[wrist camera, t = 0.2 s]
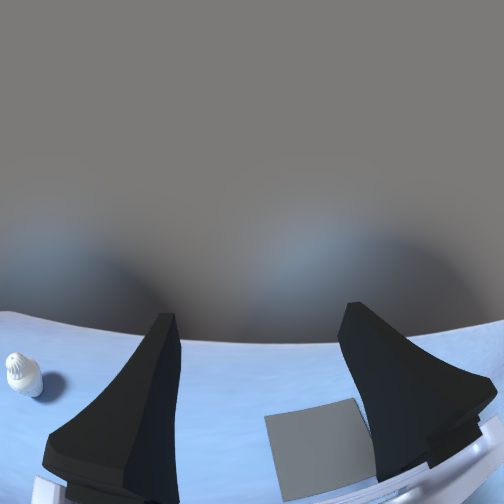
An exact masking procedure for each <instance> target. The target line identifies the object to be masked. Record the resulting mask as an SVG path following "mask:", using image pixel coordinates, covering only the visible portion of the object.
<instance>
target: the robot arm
mask: <svg viewBox="0 0 504 504" xmlns="http://www.w3.org/2000/svg"><path fill="white" fill-rule="evenodd" d="M338 340H339V344H340V347H341V351H342V354H343V357H344V359H345V361H346V364H347V366H348V368H349V371H350V373H351V375H352V377H353V380H354V382H355V384H356V387H357V389H358V391H359V393H360V396H361V399H362V401H363V404H364V408H365V412H366V415H367V419H368V423H369V427H370V432H371V436H372V442H373V448H374V455H375V464H376V477H377V480H378V484H375V485H373V486H370V487H367V488H364V489H362V490H359V491H356V492H352V493H349V494H346V495H343V496H339V497H336V498H332V499H328V500H324V501H320V502H316V503H311V504H365V503H367V502H370V501H373V500H375V499H378V498H380V497H383V496H385V495H388V494H390V493H392V492H395V491H397V490H399V489H400V491H399V493H398V495H397V496H396V497H393V498H391V499H389V500H386V501H384V502H381V503H379V504H461V503H462V502H463V501H465V500H466V499H467V498H468V497H469V496H470V495H471V494H472V493H473V492H474V491H475V490H476V489H477V488H478V487H479V486H480V485H481V484H482V483H483V482H484V481H485V480H486V479H487V478H488V477H489V476H490V475H491V474H492V473H493V472H494V471H495V470H496V469H497V468H498V467H499V466H500V465H501V464H502V463H503V462H504V425H503V423H502V421H501V419H500V418H499V416H498V414H495V415H494V416H493V417H492V418H490V419H489V420H488V421H486V422H485V423H484V424H483V425H481V426H480V427H479V426H478V424H477V423H478V422H479V421H480V418H479V416H478V414H479V413H480V412H481V411H482V410H483V409H484V408H485V407H486V406H487V405H488V404H489V403H490V402H491V401H492V400H493V399H494V398H495V397H496V395H497V392H498V391H497V389H496V388H495V386H494V385H493V383H492V381H491V380H490V379H489V378H487V377H483V376H480V375H476V374H473V373H470V372H467V371H465V370H462V369H459V368H457V367H455V366H452V365H450V364H448V363H446V362H444V361H442V360H440V359H438V358H436V357H434V356H433V355H431V354H429V353H428V352H426V351H424V350H423V349H421V348H420V347H418V346H417V345H415V344H414V343H412V342H411V341H410V340H408V339H407V338H405V337H404V336H403V335H401V334H400V333H399V332H397V331H396V330H395V329H394V328H392V327H391V326H390V325H389V324H387V323H386V322H385V321H384V320H382V319H381V318H380V317H379V316H378V315H376V314H375V313H374V312H373V311H371V310H370V309H369V308H368V307H366V306H365V305H364V304H362V303H361V302H354V303H348V304H347V308H346V311H345V314H344V317H343V321H342V324H341V327H340V330H339V333H338ZM180 372H181V343H180V339H179V334H178V329H177V325H176V320H175V315H174V313H159V314H158V315H157V317H156V319H155V320H154V322H153V324H152V325H151V327H150V329H149V330H148V332H147V334H146V335H145V337H144V338H143V340H142V342H141V343H140V345H139V346H138V348H137V349H136V351H135V352H134V353H133V355H132V356H131V358H130V359H129V360H128V362H127V363H126V364H125V366H124V367H123V368H122V370H121V371H120V372H119V373H118V375H117V376H116V377H115V378H114V380H113V381H112V382H111V383H110V384H109V385H108V386H107V387H106V388H105V389H104V391H103V392H102V393H101V394H100V395H99V396H98V397H97V398H96V399H95V400H94V401H93V402H91V403H90V404H89V405H88V406H87V407H86V408H85V409H83V410H82V411H81V412H80V413H79V414H78V415H76V416H75V417H74V418H73V419H71V420H70V421H69V422H67V423H66V424H64V425H63V426H61V427H60V428H59V429H57V430H56V431H54V432H53V433H51V434H49V437H48V440H47V443H46V447H45V452H44V457H43V462H42V465H43V467H44V468H45V469H46V470H48V471H49V472H51V473H53V474H54V475H56V476H58V477H59V478H61V479H63V480H65V481H67V487H64V486H62V485H60V484H57V483H55V482H52V481H49V480H47V479H45V478H42V477H40V476H38V475H36V476H35V480H34V487H33V494H32V502H31V504H179V503H180V500H179V492H178V484H177V474H176V461H175V411H176V403H177V395H178V387H179V379H180ZM401 488H402V489H401Z"/></svg>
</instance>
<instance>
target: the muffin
mask: <svg viewBox="0 0 504 504" xmlns="http://www.w3.org/2000/svg"><path fill="white" fill-rule="evenodd" d="M6 367H7V370H8V372H7V379H8V382H9V384H10V386H11V387H12V388H13V389H14V390H15V391H17V392H19V393H21V394H23V395H26V396H29V397H37V396H39V395H40V394H41V393H42V390H43V382H42V374H41V371H40V368H39V365H38V364H37V362H36V361H35V360H34V359H32V358H29V357H24V356H23V355H22V354H20V353H12V354H11V355H9V357H8V358H7V360H6Z"/></svg>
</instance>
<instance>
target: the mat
mask: <svg viewBox="0 0 504 504" xmlns="http://www.w3.org/2000/svg"><path fill="white" fill-rule="evenodd" d="M264 418H265V423H266V427H267V432H268V437H269V441H270V446H271V450H272V455H273V459H274V464H275V468H276V473H277V477H278V481H279V486H280V490H281V494H282V499H283V502H286V501H291V500H296V499H300V498H305V497H309V496H313V495H317V494H321V493H325V492H328V491H331V490H335V489H338V488H341V487H344V486H347V485H350V484H353V483H356V482H359V481H362V480H364V479H367V478H370V477H372V476H375V475H376V464H375V455H374V448H373V442H372V439H371V437H370V434H369V432H368V430H367V428H366V425H365V423H364V421H363V419H362V416H361V414H360V412H359V410H358V407H357V405H356V403H355V401H354V399H353V398H350V399H346V400H343V401H339V402H335V403H331V404H327V405H323V406H318V407H314V408H309V409H304V410H299V411H294V412H288V413H282V414H276V415H270V416H265V417H264Z"/></svg>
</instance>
